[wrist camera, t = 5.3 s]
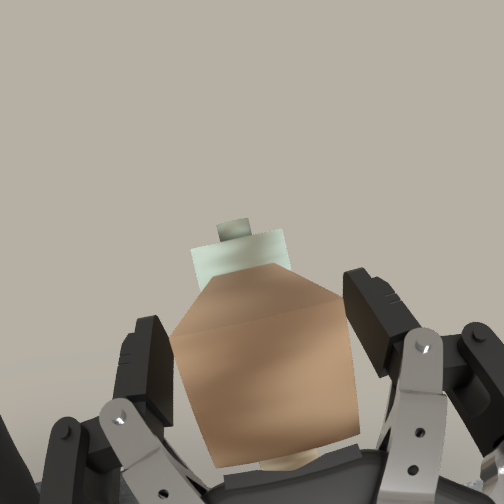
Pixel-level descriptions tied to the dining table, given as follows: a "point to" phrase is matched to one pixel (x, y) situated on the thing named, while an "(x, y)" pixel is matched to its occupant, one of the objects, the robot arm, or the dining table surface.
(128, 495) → the dining table surface
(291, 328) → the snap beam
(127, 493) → the dining table surface
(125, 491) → the dining table surface
